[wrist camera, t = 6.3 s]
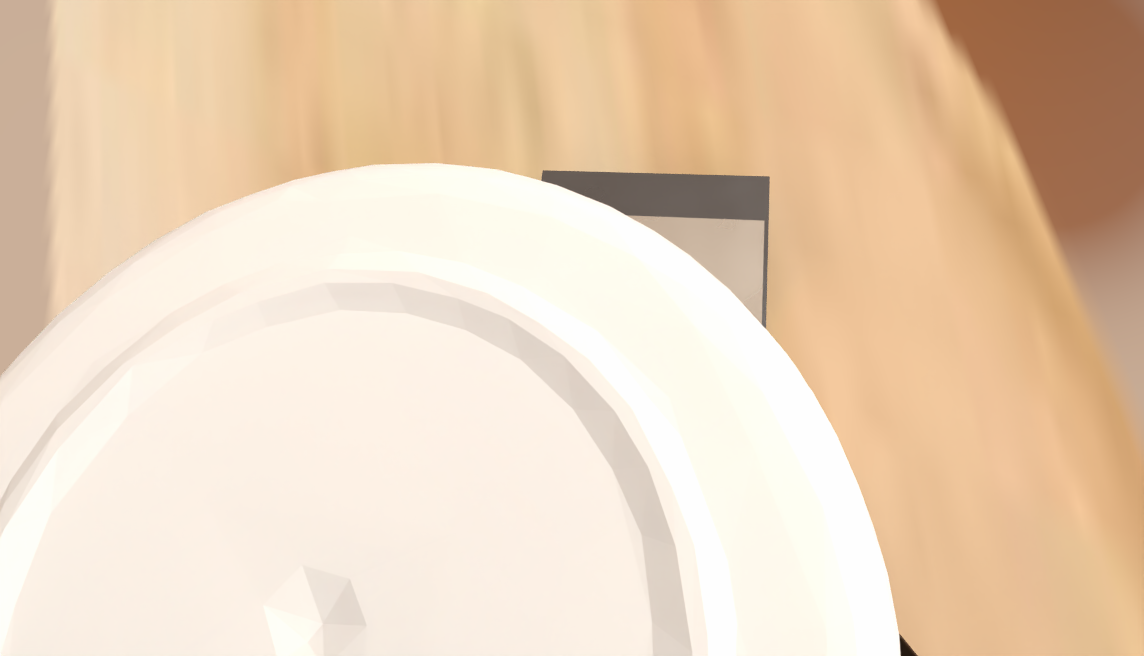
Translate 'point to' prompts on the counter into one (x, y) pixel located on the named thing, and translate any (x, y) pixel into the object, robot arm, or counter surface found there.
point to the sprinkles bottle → (424, 443)
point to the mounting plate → (676, 197)
